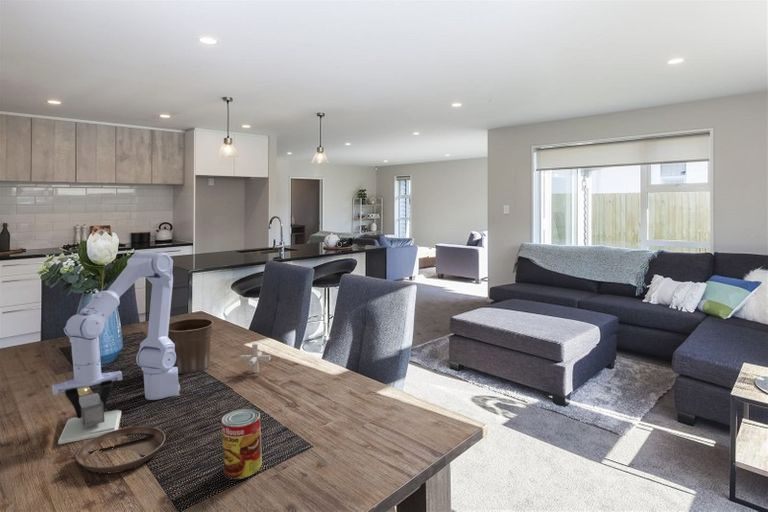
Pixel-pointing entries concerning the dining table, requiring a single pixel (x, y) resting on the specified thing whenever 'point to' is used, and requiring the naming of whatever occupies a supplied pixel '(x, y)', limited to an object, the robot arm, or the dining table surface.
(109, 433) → the plant saucer
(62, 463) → the dining table surface
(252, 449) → the canned food
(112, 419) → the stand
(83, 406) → the block
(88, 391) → the yellow rounded lump
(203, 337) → the plant pot
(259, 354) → the pipe connector
